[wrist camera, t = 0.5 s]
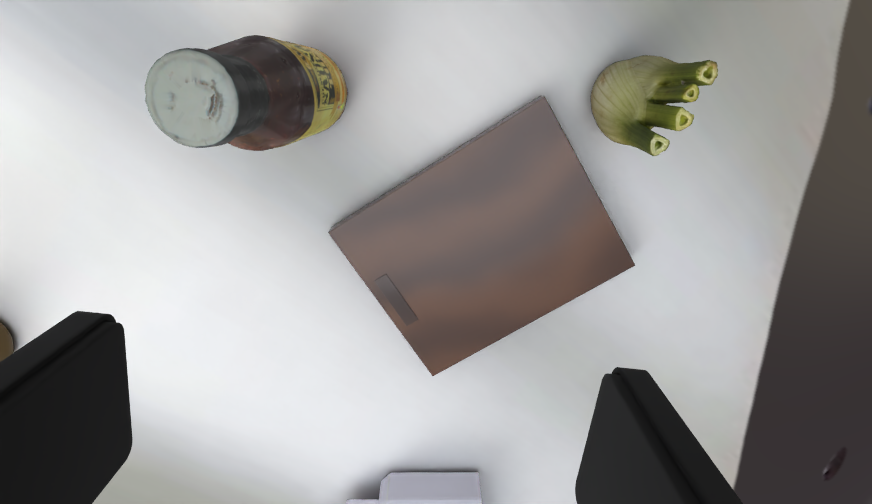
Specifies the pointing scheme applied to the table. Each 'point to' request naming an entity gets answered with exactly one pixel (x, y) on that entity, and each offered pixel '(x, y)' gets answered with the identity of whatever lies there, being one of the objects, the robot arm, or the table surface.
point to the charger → (427, 489)
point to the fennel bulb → (647, 99)
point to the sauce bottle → (245, 94)
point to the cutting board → (485, 239)
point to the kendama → (5, 343)
